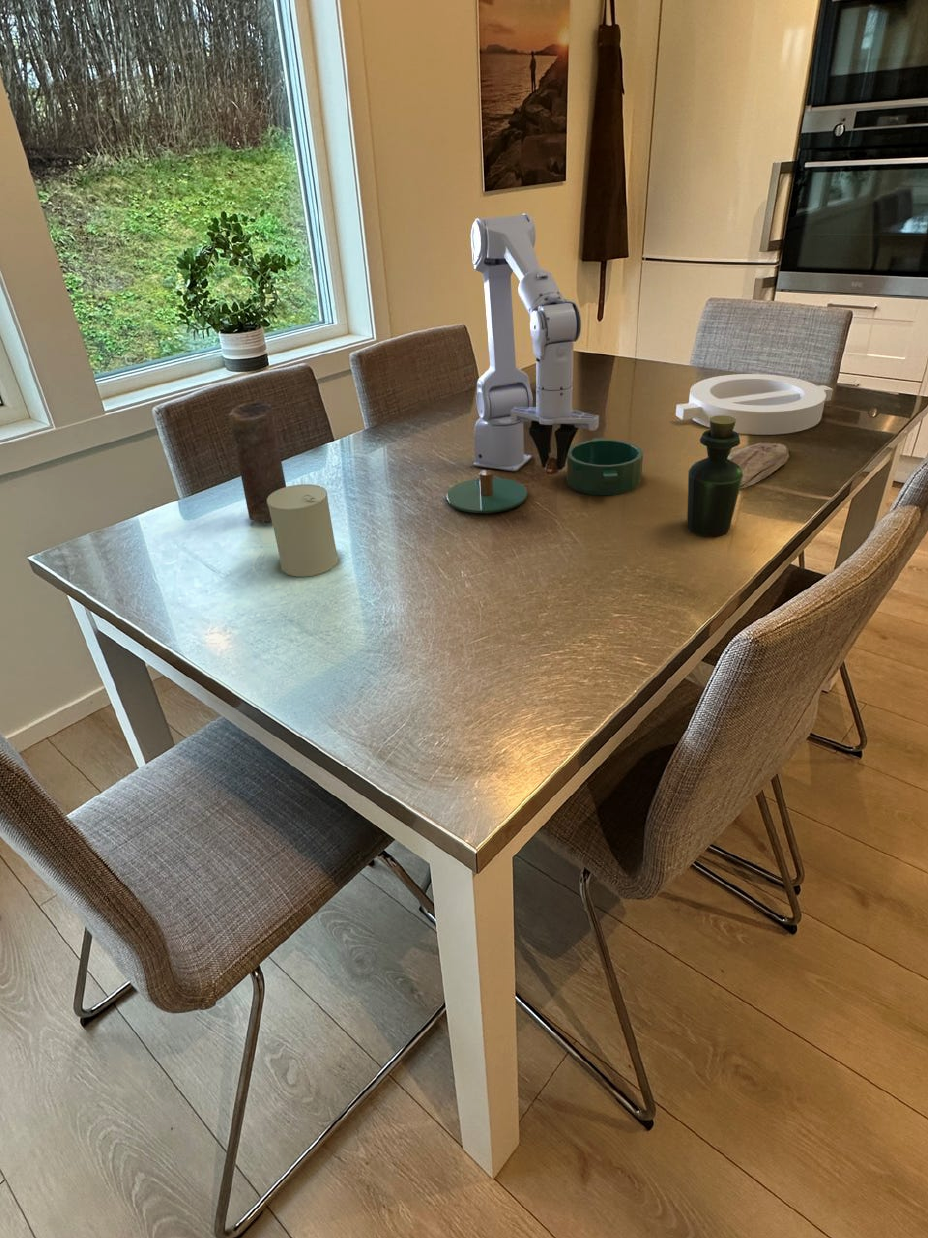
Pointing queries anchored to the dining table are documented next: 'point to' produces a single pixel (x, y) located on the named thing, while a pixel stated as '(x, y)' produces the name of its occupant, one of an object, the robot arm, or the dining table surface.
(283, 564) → the can
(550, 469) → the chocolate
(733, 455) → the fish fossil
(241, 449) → the candle
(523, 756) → the dining table surface
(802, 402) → the white circle with bar
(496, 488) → the pot lid
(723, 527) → the potion bottle
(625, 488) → the pot
